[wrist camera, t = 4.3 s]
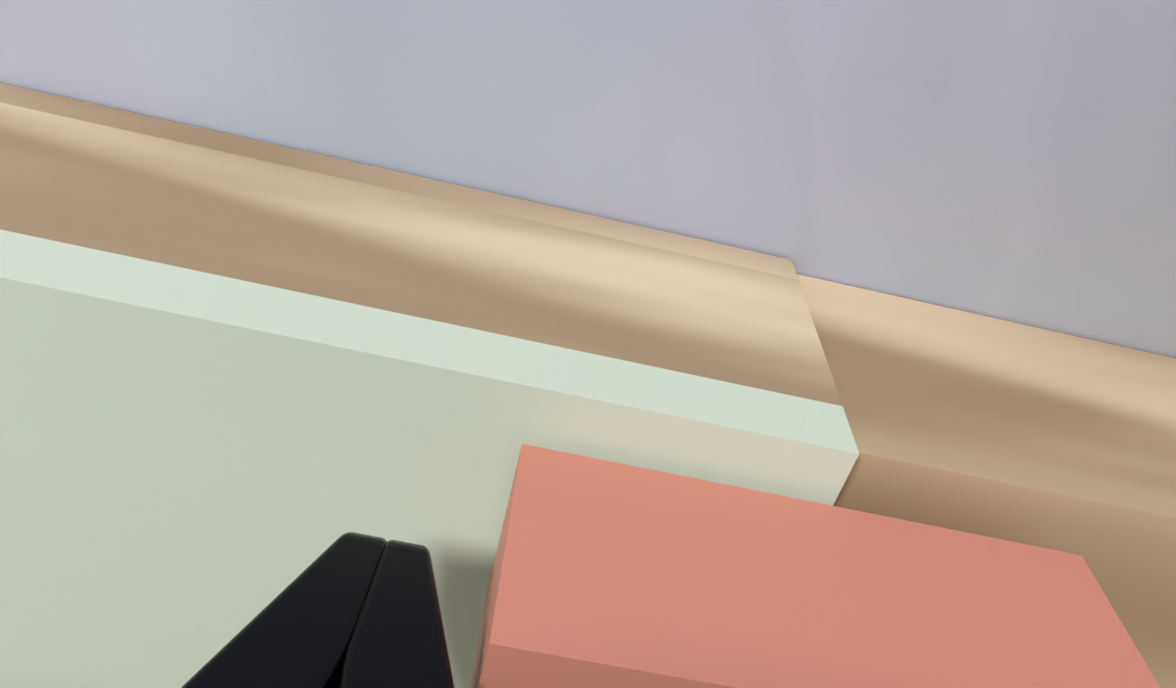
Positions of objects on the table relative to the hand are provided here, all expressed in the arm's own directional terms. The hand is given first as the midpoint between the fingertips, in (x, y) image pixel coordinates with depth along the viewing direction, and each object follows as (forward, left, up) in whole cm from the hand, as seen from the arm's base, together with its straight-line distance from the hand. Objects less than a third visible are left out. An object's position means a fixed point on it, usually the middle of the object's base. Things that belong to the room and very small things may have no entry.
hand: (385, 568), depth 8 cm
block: (0, -4, -1) cm, 4 cm away
